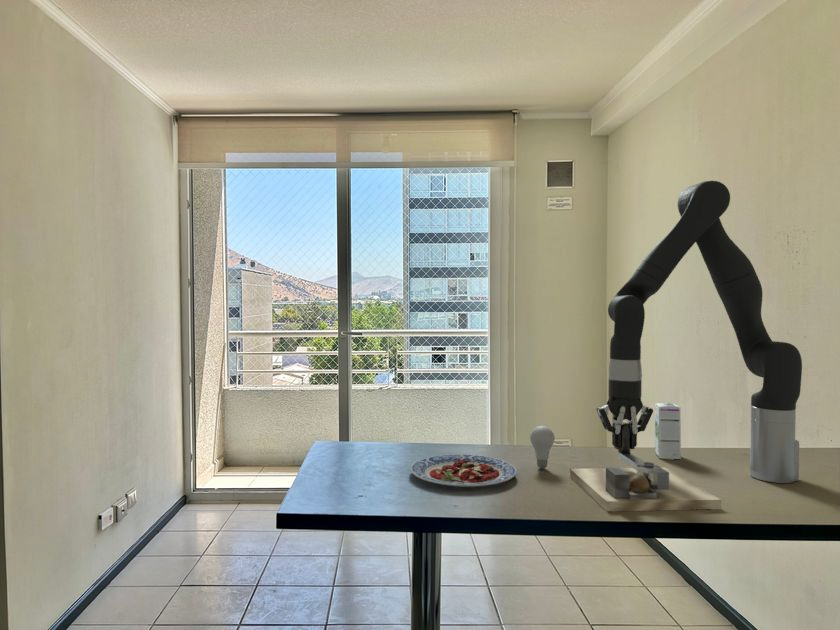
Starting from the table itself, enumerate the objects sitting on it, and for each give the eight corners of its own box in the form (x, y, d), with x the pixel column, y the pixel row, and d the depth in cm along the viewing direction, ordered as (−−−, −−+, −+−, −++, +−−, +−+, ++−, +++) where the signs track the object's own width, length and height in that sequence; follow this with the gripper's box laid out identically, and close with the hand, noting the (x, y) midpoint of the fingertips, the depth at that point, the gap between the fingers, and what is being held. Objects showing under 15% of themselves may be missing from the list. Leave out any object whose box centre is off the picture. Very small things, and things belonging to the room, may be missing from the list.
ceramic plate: (458, 457, 156) (458, 446, 156) (537, 477, 138) (537, 465, 138) (388, 476, 138) (388, 464, 138) (468, 503, 120) (468, 489, 120)
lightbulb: (556, 467, 146) (556, 424, 146) (551, 473, 140) (551, 429, 140) (533, 464, 148) (533, 422, 148) (527, 470, 143) (527, 427, 143)
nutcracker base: (665, 475, 139) (666, 447, 139) (721, 509, 116) (721, 475, 116) (570, 476, 138) (570, 448, 137) (606, 511, 115) (607, 477, 114)
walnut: (643, 491, 121) (644, 472, 121) (652, 497, 117) (652, 478, 117) (625, 491, 121) (625, 472, 121) (633, 497, 117) (634, 478, 117)
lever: (631, 461, 139) (632, 422, 139) (674, 489, 118) (675, 443, 118) (611, 462, 138) (612, 422, 138) (651, 489, 118) (652, 443, 117)
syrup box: (681, 460, 153) (682, 406, 153) (658, 458, 154) (658, 405, 154) (676, 454, 159) (676, 403, 158) (653, 453, 160) (654, 402, 160)
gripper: (646, 375, 141) (645, 444, 141) (591, 375, 140) (590, 445, 141) (660, 379, 134) (659, 452, 134) (602, 379, 133) (601, 452, 133)
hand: (624, 448), depth 137 cm, fingers closed on lever, 3 cm apart
